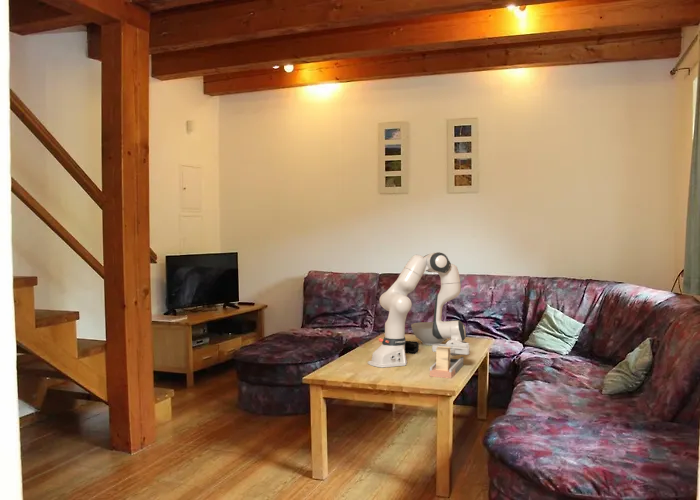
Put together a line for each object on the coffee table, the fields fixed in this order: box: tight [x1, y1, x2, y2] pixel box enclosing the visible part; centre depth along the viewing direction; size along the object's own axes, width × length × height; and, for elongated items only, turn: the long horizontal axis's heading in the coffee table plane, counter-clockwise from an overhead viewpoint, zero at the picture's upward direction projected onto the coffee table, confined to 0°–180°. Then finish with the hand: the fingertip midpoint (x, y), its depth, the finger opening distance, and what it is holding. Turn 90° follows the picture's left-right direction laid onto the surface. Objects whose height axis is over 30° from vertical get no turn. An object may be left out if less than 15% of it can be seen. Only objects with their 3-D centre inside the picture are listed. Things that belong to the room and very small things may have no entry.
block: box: [435, 346, 451, 371], centre depth 309 cm, size 6×6×11 cm
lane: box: [429, 356, 464, 379], centre depth 319 cm, size 32×11×4 cm, turn 159°
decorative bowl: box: [410, 321, 448, 346], centre depth 394 cm, size 27×27×12 cm
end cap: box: [405, 340, 420, 355], centre depth 366 cm, size 10×7×7 cm
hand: (448, 351), depth 322 cm, fingers closed
